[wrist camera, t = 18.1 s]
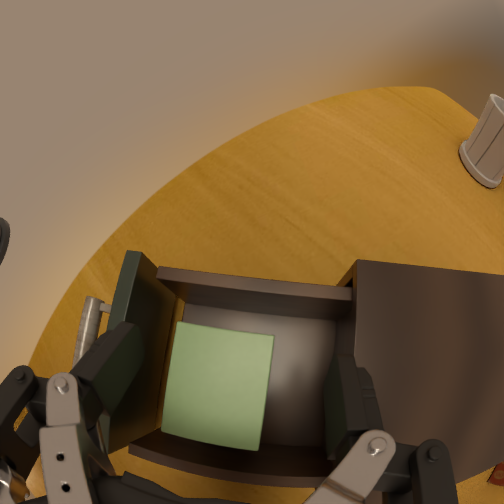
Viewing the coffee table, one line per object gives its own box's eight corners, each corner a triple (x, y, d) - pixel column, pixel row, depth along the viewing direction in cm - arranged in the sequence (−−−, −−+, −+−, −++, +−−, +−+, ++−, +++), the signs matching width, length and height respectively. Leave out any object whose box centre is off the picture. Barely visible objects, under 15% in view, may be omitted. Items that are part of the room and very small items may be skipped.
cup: (473, 139, 32) (501, 92, 21) (506, 178, 28) (540, 135, 17) (449, 151, 30) (482, 94, 19) (487, 198, 27) (531, 147, 16)
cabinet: (302, 460, 17) (324, 512, 8) (323, 300, 23) (356, 258, 14) (455, 440, 16) (516, 453, 7) (465, 307, 21) (526, 277, 12)
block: (202, 406, 18) (159, 431, 10) (213, 339, 20) (176, 320, 12) (261, 415, 18) (258, 451, 9) (271, 347, 20) (275, 335, 11)
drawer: (101, 412, 18) (45, 420, 11) (125, 278, 24) (79, 243, 17) (324, 458, 16) (350, 496, 9) (343, 306, 22) (377, 276, 15)
